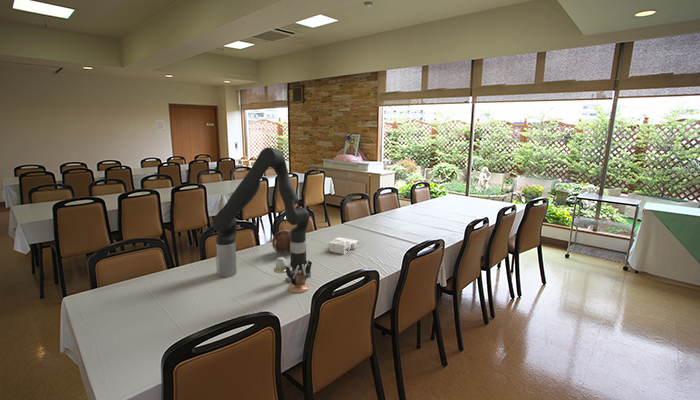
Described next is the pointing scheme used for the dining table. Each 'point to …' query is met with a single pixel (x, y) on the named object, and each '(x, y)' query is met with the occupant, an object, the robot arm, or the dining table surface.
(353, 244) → the house
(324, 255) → the dining table surface
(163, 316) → the dining table surface
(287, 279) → the balance
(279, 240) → the wooden sphere
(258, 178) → the robot arm
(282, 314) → the dining table surface
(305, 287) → the terracotta saucer
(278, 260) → the grey cup
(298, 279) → the walnut block
